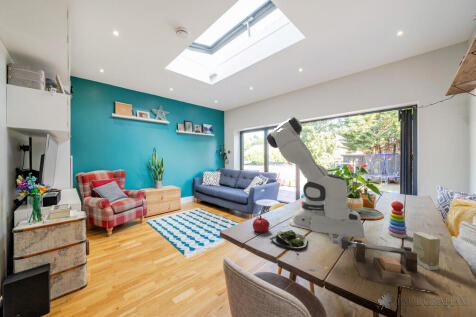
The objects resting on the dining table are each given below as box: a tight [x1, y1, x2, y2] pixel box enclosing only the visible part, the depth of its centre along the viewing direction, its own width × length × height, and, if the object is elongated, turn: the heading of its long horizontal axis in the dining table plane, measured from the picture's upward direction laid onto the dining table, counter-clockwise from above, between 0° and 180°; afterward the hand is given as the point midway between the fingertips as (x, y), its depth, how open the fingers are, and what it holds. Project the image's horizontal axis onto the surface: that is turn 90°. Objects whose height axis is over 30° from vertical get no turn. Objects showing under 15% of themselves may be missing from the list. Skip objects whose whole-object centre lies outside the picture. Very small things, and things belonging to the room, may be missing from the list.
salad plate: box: [269, 229, 308, 251], centre depth 93 cm, size 19×18×5 cm
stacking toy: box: [387, 200, 408, 239], centre depth 96 cm, size 8×8×19 cm
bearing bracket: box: [351, 239, 437, 294], centre depth 66 cm, size 20×14×8 cm
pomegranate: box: [252, 214, 271, 234], centre depth 104 cm, size 10×10×9 cm
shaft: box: [339, 236, 406, 255], centre depth 71 cm, size 21×4×4 cm, turn 68°
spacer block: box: [379, 255, 401, 274], centre depth 64 cm, size 4×4×5 cm
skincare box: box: [412, 231, 441, 271], centre depth 70 cm, size 6×4×12 cm
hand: (335, 243), depth 76 cm, fingers closed
